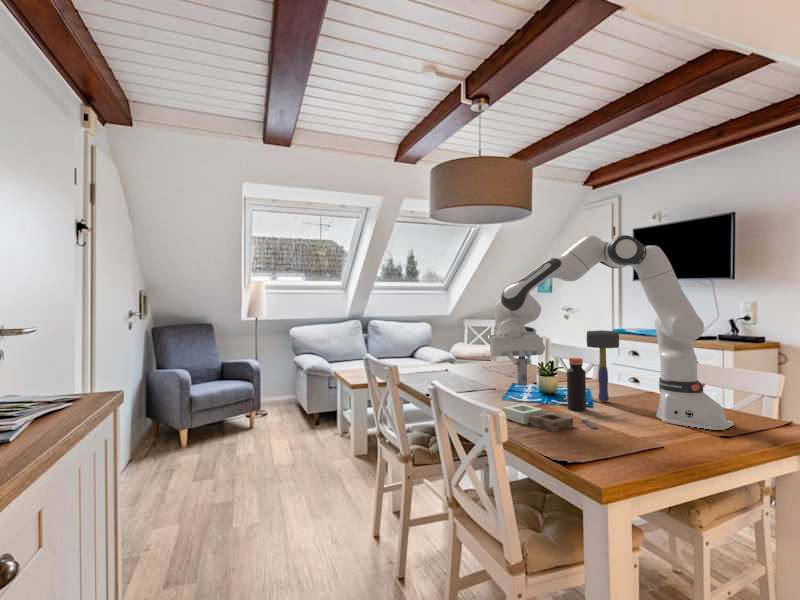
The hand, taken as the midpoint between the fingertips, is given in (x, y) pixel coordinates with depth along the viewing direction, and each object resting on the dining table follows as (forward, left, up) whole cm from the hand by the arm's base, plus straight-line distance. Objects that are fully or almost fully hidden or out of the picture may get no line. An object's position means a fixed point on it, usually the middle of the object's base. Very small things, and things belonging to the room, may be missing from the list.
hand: (522, 363), depth 156 cm
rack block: (+1, 0, -20) cm, 21 cm away
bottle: (-1, -28, -21) cm, 35 cm away
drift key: (-17, -13, -21) cm, 30 cm away
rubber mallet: (0, -47, -21) cm, 52 cm away
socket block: (-10, -2, -20) cm, 23 cm away
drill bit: (+1, 0, -8) cm, 8 cm away
